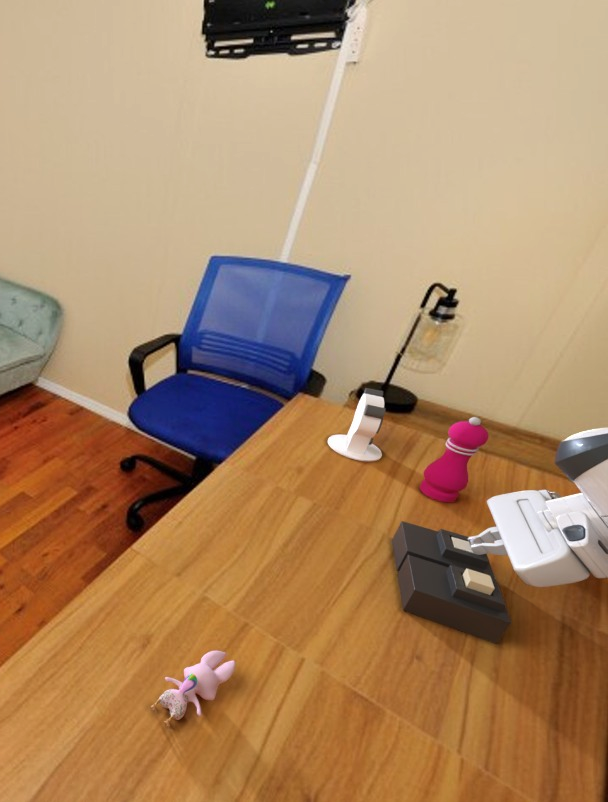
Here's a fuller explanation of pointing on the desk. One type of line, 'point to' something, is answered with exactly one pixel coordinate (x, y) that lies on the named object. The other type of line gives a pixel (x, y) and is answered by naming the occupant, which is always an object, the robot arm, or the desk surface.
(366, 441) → the white curved stand
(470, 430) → the pepper mill
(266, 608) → the desk surface
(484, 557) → the low key box
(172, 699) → the rabbit figure
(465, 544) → the low key
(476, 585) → the high key
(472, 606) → the high key box
